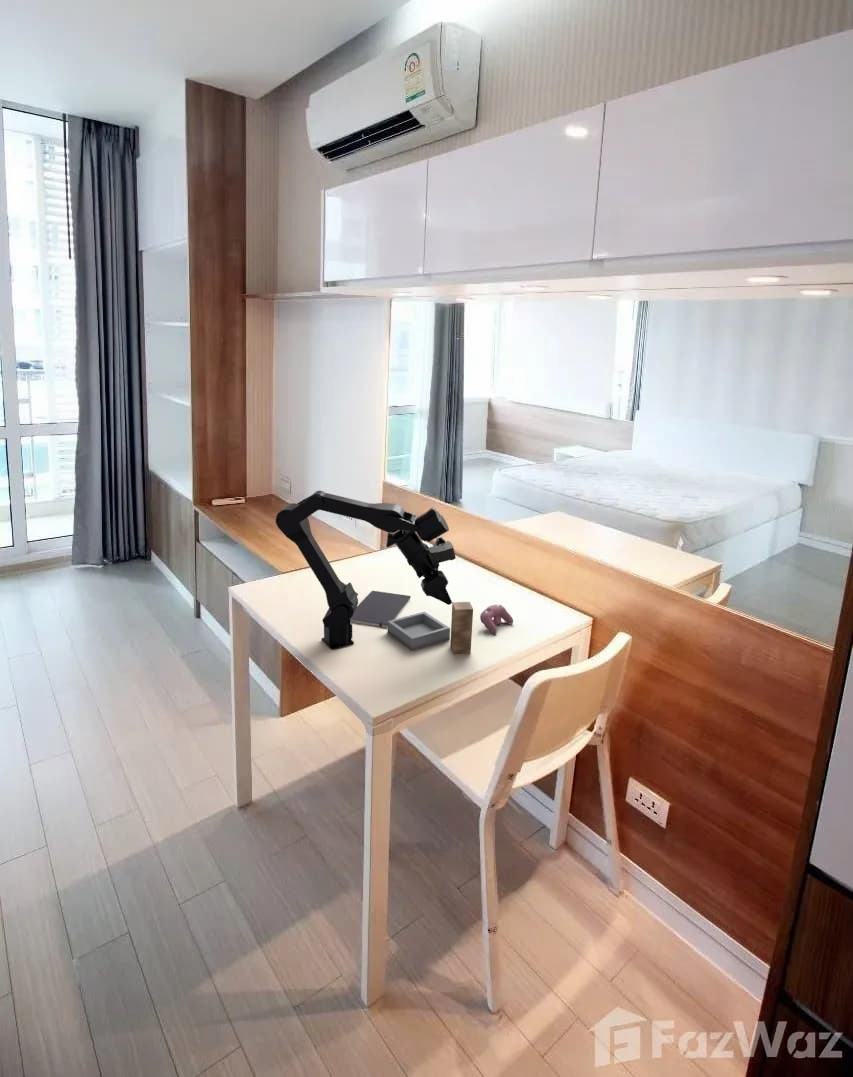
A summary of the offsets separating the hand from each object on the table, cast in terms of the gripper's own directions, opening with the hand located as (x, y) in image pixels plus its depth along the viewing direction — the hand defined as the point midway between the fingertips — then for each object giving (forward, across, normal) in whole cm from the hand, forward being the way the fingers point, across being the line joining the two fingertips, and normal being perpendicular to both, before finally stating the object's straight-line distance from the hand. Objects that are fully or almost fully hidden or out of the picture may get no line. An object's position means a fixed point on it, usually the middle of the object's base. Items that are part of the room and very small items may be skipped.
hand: (447, 595), depth 166 cm
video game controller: (+21, +9, -5) cm, 23 cm away
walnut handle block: (+13, -4, +5) cm, 15 cm away
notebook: (+4, +23, +21) cm, 31 cm away
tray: (+8, +5, +13) cm, 16 cm away
